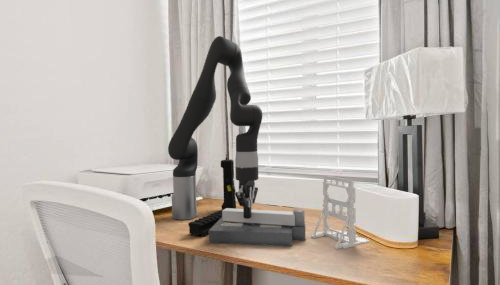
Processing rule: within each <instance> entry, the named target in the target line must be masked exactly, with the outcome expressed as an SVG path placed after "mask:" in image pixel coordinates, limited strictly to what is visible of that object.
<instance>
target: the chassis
mask: <svg viewBox="0 0 500 285" xmlns="http://www.w3.org/2000/svg"><path fill="white" fill-rule="evenodd" d="M294 241H306V224H305V225H303V226H296V225H295V226H291V225H276V224H261V223H247V222H232V221H222V217H221V218H220V219H219V220H218V222H217V223H216V224H215V225H214V226H213V227H212V228H211V229H210V230H209V235H208V243H209V244H221V245H222V244H223V245H224V244H225V245H249V246H251V245H252V246H274V247H275V246H278V247H280V246H281V247H293V242H294Z"/></svg>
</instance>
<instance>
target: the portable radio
mask: <svg viewBox="0 0 500 285" xmlns="http://www.w3.org/2000/svg"><path fill="white" fill-rule="evenodd" d="M234 162H235V160H233V159H228V154H227V153H226V154H225V159H222V160H220V168H222V179H223V180H222V182H223V188H222V190H223V202H222V204H221V210H222V209H226V208H234V209H237V203H236V200H237V198H236V195H235V193H236V187H235V166H234Z"/></svg>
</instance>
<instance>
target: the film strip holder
mask: <svg viewBox="0 0 500 285" xmlns="http://www.w3.org/2000/svg"><path fill="white" fill-rule="evenodd" d="M328 180H330V182H328ZM333 181H335V183H333ZM339 182H341V183H342V184H341V185H340V184H339ZM345 183H347V185H345ZM354 184H355V182H354V179H348V178H342V177H337V176H330V175H326V174H324V175H323V181H322V192H323V193H322V194H323V203H322V210H321V213H320V216H319V218H318V221H317V224H316V226H315V228H314V232H313V234H311V235H310V238H311V239H317V238H321V237H324V236H326V237H329V238H331V239H334V240H335V241H338V242H337V244H335V245H334V249H335V250H339V249H344V250H346V249H349V248H355V246H359V245H365V244H368V243H370V239H367V238H365V237H360V236H359V235H358V234H357V232H356V230H357V229H356V227H355V223H356V218H357V216H356V207H355V203H356V187H354V186H355V185H354ZM329 186H333V187H338V188H342V189H345V190H346V193H347V196H348V197H347V199H346V201H344V200H341V199H336V198H331V197H330V196H329V192H328V189H329ZM329 204H331V209H329ZM336 205H337V206H338V207H339V208H338V209H339V210H338V212H337V211H336ZM344 208H346V214H344V211H343V210H344ZM323 214H324V215H323ZM330 216H331V217H334V218H336V219H339V220H342V221H345V222H344V225H343V227H342V229H339V230H337V229H333V228H331V227H330V225H329V222H328V220H329V217H330ZM322 217H323V231H318V230H319V226H320V223H321V221H322ZM346 227H348V229H347V231H346Z"/></svg>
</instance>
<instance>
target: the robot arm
mask: <svg viewBox="0 0 500 285" xmlns="http://www.w3.org/2000/svg"><path fill="white" fill-rule="evenodd" d="M203 64H204V65H203V67H202V70H201V73H200V75H199V78H198V81H196V82H197V83H196V84H195V87H194V89H193V92H192V94H191V96H190V98H189V101H188V104H187V106H186V109H185V110H184V113H183V115H182V117H181V120H180V121H179V124H178V126H177V128H176V130H175V131H174V133H173V135H172V137H171V138H170V141H169V142H168V149H167V150H168V155H169V157H170V158H171V159H173V160H175V161H178V164H177V165H176V167H174V168H173V170H172V186H173V191H172V192H173V194H172V195H171V216H172V219H175V220H180V221H181V220H182V221H184V220H192V219H196V218H197V217H198V216H197V215H198V214H197V213H198V211H197V175H196V172H197V169H198V159H199V158H198V155H199V150H198V143H197V141H196V140H195V139H194V138H193V135H194V133H195V131H196V130H197V129H198V128H199V127H200V126H201V125H202V124H203V123H204V121H205V120H206V119H207V117H208V116H209V115H210V113H211V111H212V109H213V107H214V104H215V102H216V99H217V91H216V90H217V89H216V82H215V73H216V71H217V70H216V69H217V67H218V64H220V65H223V66H225V67H228V69H229V70H230V75H229V76H228V78H227V80H226V82H227V83H226V89H227V92H228V95H229V99H230V112H229V118H230V119H229V120H230V121H231V123H232V125H234V126H236V127H248V129H247V131H246V132H243V133H239V134H237V135H236V137H235V160H234V162H235V166H234V172H235V180H236V181H239V185H238V189H239V190H238V191H235V199H236V200H237V202H238V204H239V206H240V207H242V209H243V212H244V218H245V219H249V218H251V209H252V207H253V204H255V202H256V199H257V194H258V192H259V188H258V187H257V186H255V185H256V183H255V181H257V180H259V155H258V154H259V153H258V137H259V133H260V128H261V124H262V122H263V111H262V109H261V107H260V106H259V105H257V104H249V103H250V102H251V99H252V96H251V92H250V89H249V85H248V83H247V81H246V77H245V69H244V59H243V52H242V49H241V47H240V45H239V44H238V43H236V42H234V41H233V40H230V39H228V38H226V37H224V36H221V35H218V36H216V37H215V38H214V39H213V40H212V42H211V44H210V46H209V49H208V51H207V54H206V58H205V60H204V63H203Z"/></svg>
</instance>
